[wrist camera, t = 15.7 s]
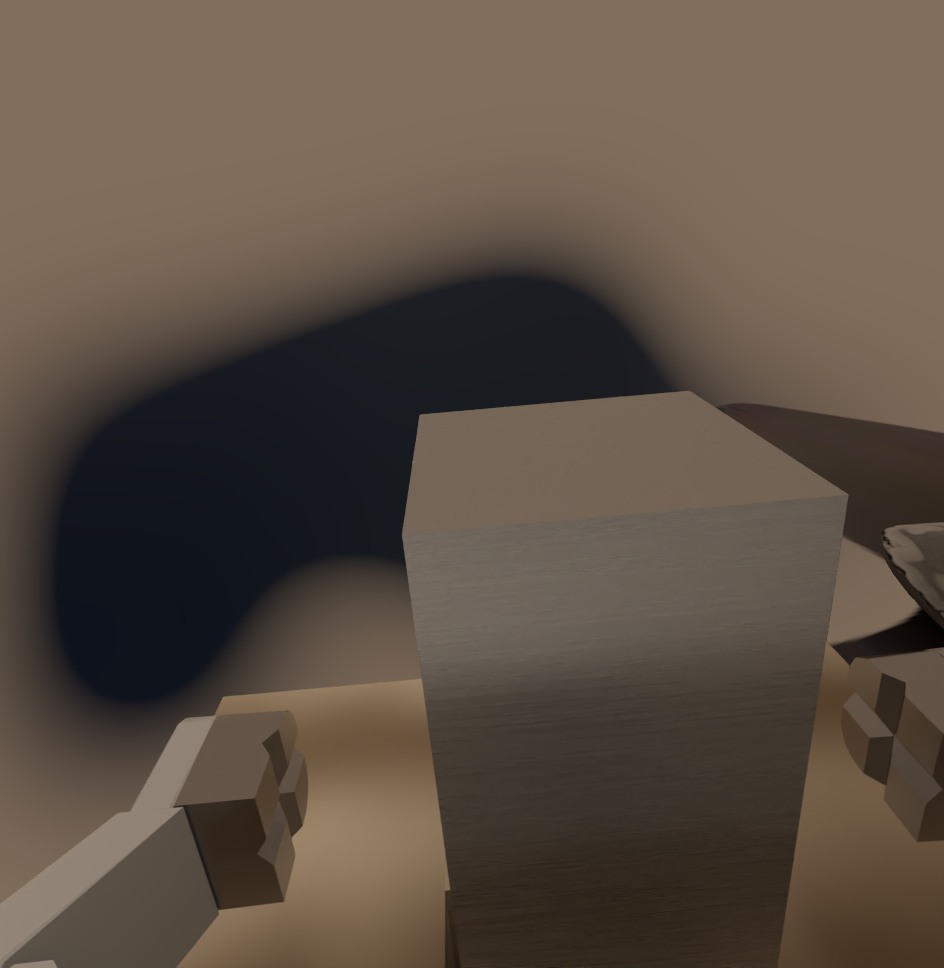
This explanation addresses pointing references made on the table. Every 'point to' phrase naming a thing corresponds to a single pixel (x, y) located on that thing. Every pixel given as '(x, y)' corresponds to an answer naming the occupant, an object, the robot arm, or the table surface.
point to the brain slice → (918, 563)
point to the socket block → (423, 867)
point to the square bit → (618, 676)
